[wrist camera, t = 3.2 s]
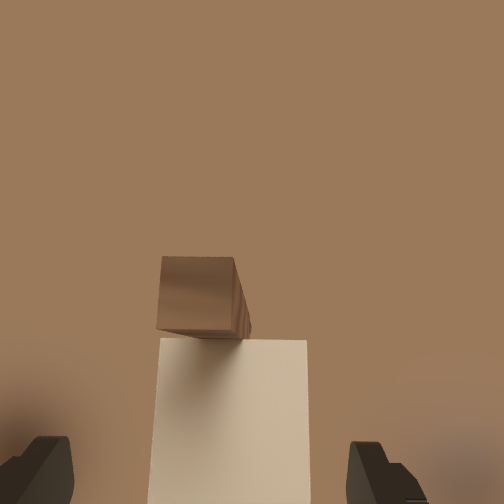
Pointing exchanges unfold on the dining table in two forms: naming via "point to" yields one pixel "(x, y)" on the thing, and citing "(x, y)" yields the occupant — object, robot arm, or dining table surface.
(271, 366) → the post
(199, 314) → the lever handle
